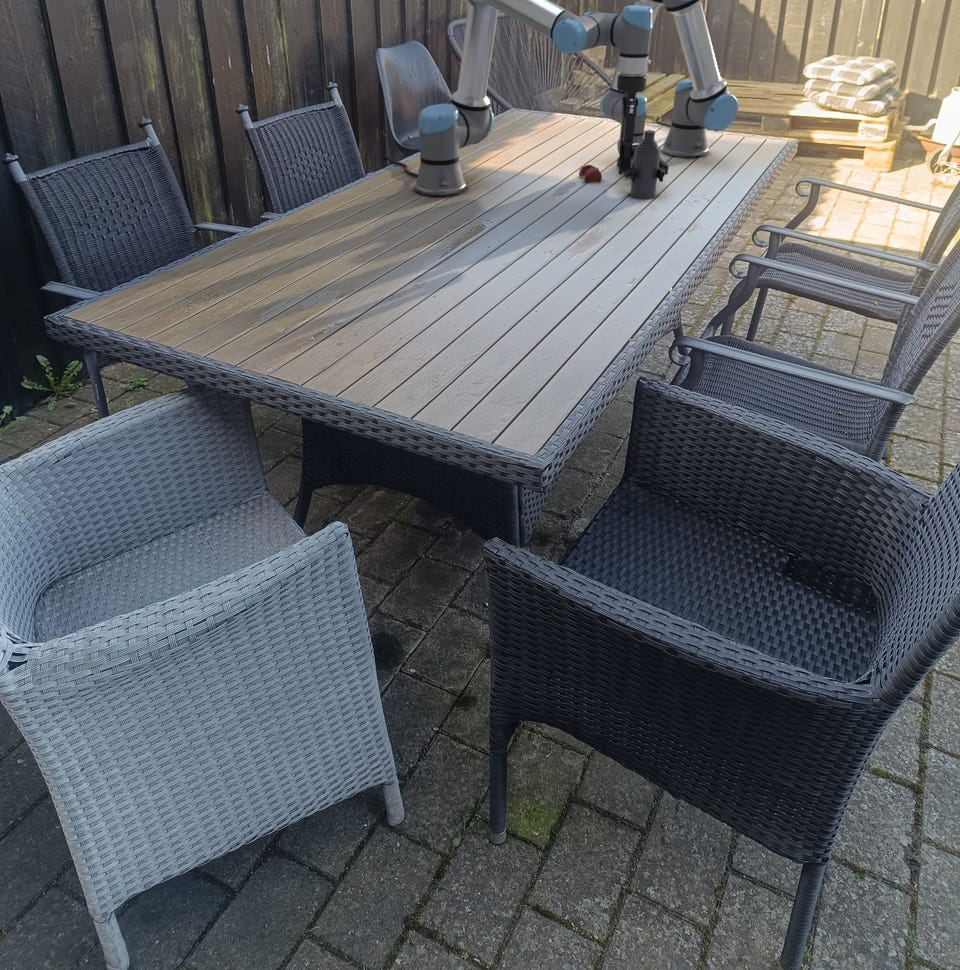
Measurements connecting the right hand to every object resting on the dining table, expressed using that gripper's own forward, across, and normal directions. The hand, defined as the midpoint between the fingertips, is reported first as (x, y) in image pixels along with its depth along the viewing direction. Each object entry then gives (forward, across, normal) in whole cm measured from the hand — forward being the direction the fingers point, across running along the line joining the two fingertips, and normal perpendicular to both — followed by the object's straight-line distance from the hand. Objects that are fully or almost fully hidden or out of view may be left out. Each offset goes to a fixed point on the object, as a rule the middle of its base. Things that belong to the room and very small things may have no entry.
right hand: (648, 177), depth 246 cm
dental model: (-22, +14, -7) cm, 27 cm away
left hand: (+12, +10, +6) cm, 17 cm away
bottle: (-5, 0, -7) cm, 8 cm away
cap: (+12, +10, +8) cm, 17 cm away
